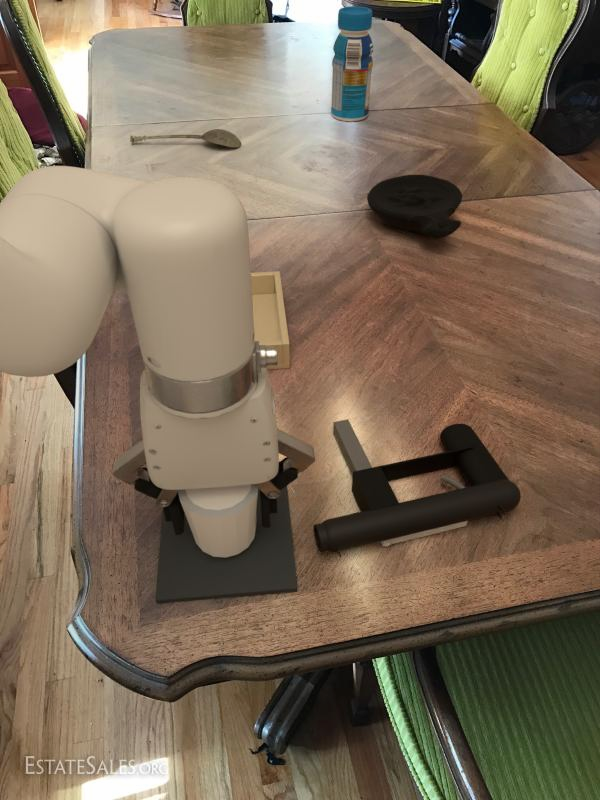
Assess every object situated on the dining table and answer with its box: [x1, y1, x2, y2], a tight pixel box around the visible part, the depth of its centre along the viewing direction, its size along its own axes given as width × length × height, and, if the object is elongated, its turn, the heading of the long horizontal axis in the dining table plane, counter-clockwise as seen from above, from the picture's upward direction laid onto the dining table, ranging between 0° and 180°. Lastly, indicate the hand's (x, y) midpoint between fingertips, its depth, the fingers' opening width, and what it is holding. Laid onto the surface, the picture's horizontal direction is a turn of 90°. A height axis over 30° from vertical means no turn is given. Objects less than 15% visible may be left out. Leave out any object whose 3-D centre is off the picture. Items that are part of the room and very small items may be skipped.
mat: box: [155, 485, 298, 604], centre depth 57 cm, size 12×12×1 cm
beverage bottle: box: [330, 5, 374, 122], centre depth 128 cm, size 8×8×20 cm
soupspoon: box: [129, 128, 242, 148], centre depth 122 cm, size 22×3×7 cm
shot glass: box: [178, 484, 259, 558], centre depth 53 cm, size 7×7×7 cm
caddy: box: [251, 270, 291, 371], centre depth 78 cm, size 16×16×4 cm
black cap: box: [366, 174, 463, 240], centre depth 97 cm, size 15×20×5 cm
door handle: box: [313, 418, 522, 558], centre depth 61 cm, size 3×20×16 cm
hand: (223, 516), depth 54 cm, fingers closed on shot glass, 6 cm apart
